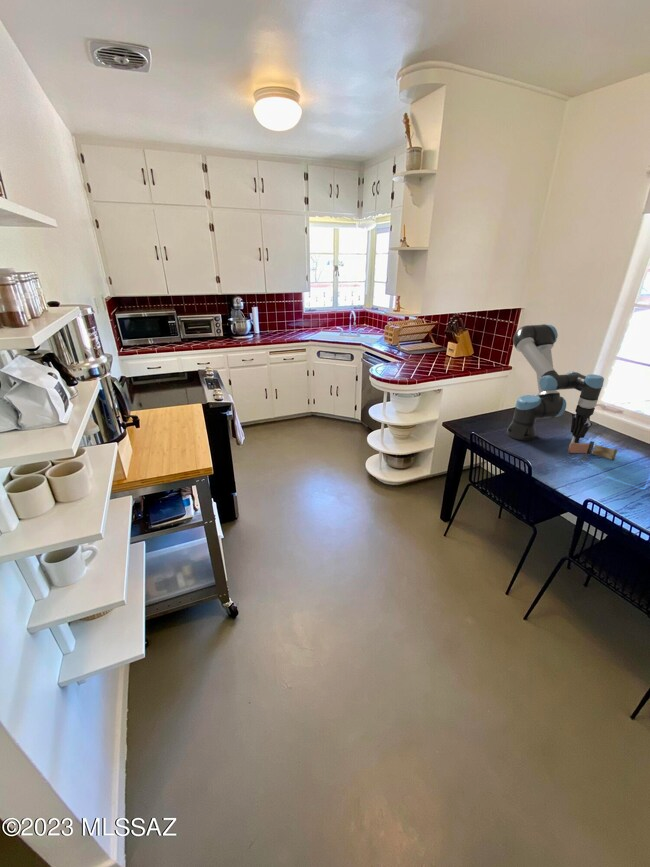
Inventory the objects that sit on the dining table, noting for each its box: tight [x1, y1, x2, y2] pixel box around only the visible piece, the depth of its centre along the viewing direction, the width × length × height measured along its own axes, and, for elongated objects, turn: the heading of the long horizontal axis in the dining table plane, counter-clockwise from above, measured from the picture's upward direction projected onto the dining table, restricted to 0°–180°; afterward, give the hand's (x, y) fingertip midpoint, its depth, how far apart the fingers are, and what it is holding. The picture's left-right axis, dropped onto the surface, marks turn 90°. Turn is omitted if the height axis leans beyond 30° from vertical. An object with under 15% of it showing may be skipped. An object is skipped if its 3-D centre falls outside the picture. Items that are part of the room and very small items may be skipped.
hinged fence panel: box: [567, 442, 590, 454], centre depth 189 cm, size 9×1×6 cm, turn 87°
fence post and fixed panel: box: [587, 440, 618, 461], centre depth 185 cm, size 12×2×6 cm, turn 43°
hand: (572, 447), depth 190 cm, fingers closed
